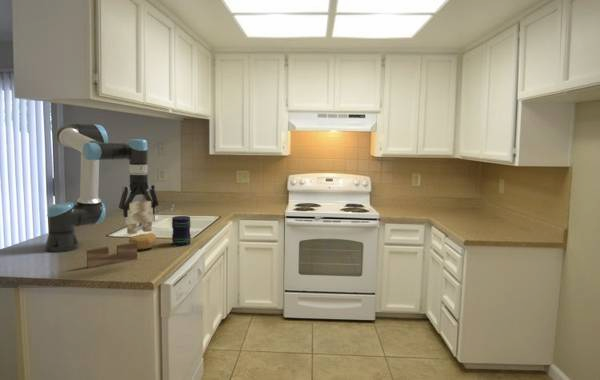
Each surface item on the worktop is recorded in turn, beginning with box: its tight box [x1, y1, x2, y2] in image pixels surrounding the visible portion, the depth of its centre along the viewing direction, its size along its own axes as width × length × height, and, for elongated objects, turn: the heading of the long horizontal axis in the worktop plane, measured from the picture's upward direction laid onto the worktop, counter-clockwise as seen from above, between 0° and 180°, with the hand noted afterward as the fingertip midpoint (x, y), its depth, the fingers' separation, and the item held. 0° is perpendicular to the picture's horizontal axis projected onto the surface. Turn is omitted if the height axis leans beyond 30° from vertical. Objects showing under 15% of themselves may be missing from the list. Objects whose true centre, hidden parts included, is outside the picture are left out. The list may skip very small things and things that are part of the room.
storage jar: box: [171, 215, 192, 247], centre depth 225 cm, size 10×10×15 cm
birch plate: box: [126, 199, 153, 235], centre depth 185 cm, size 10×3×14 cm, turn 136°
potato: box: [128, 232, 157, 251], centre depth 213 cm, size 10×14×8 cm
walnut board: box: [85, 242, 138, 269], centre depth 189 cm, size 2×22×8 cm, turn 136°
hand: (139, 222), depth 185 cm, fingers closed on birch plate, 10 cm apart
